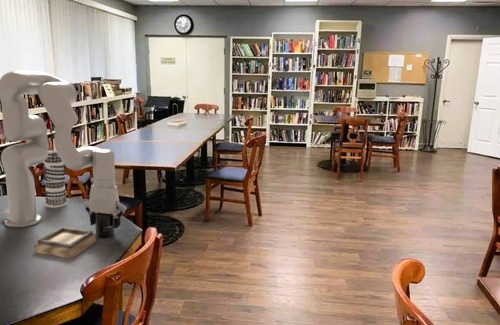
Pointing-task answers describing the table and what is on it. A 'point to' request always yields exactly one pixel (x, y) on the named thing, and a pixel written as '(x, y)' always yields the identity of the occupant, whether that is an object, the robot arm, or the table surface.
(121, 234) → the table surface
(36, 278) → the table surface
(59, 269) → the table surface
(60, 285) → the table surface
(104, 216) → the supplement bottle
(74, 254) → the wooden tray
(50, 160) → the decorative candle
